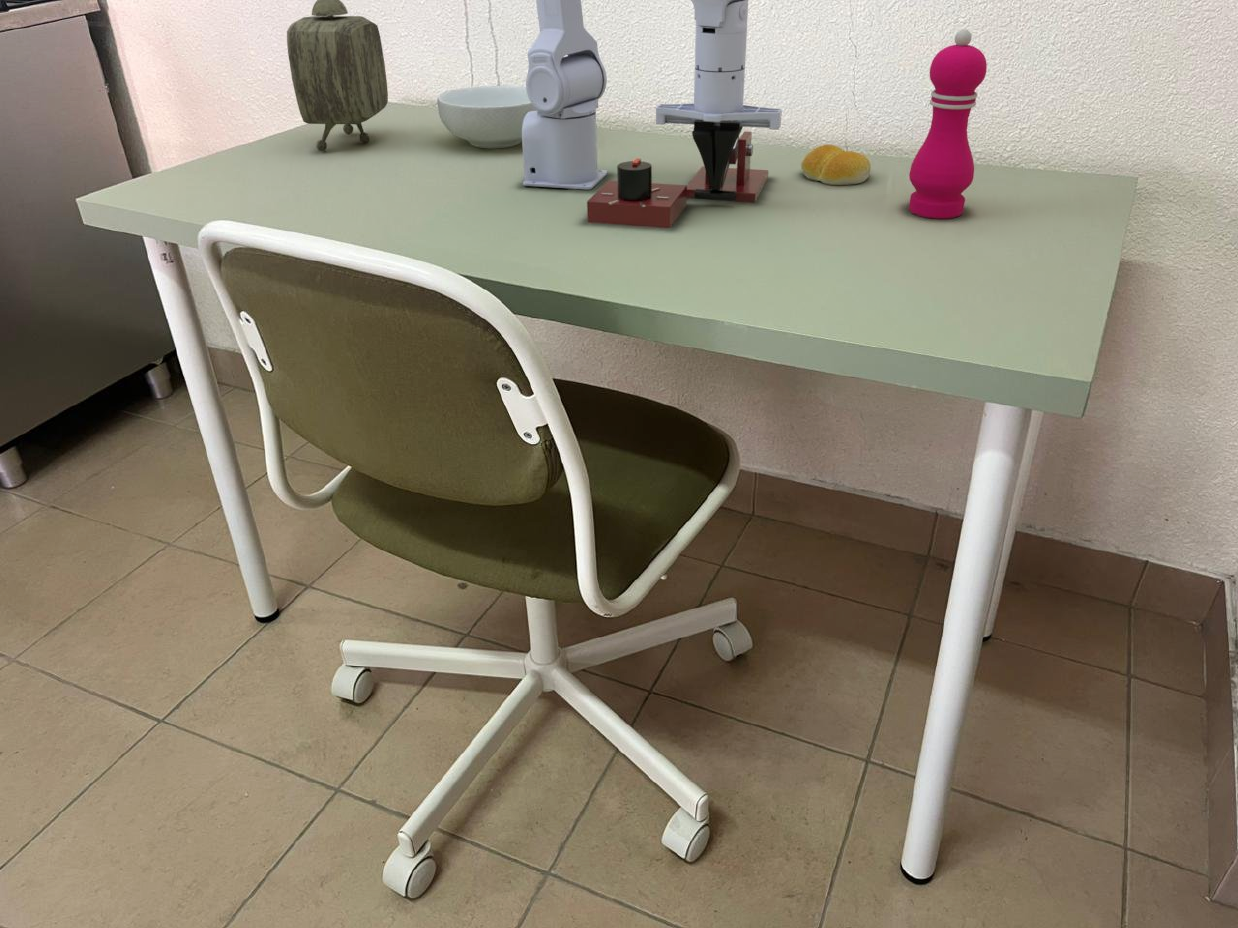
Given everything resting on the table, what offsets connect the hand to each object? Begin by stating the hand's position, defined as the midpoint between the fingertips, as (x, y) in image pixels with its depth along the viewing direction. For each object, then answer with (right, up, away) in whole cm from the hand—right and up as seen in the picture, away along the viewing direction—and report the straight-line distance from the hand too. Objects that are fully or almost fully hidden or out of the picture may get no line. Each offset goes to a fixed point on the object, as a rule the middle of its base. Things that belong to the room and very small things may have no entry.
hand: (715, 187), depth 116 cm
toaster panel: (-9, -3, 0) cm, 10 cm away
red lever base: (+2, +2, +8) cm, 9 cm away
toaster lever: (+1, +2, +4) cm, 5 cm away
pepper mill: (+26, -3, -1) cm, 27 cm away
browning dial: (-10, -2, -3) cm, 11 cm away
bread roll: (+17, +4, +12) cm, 21 cm away
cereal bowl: (-31, +16, +31) cm, 47 cm away
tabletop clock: (-53, +16, +33) cm, 64 cm away
